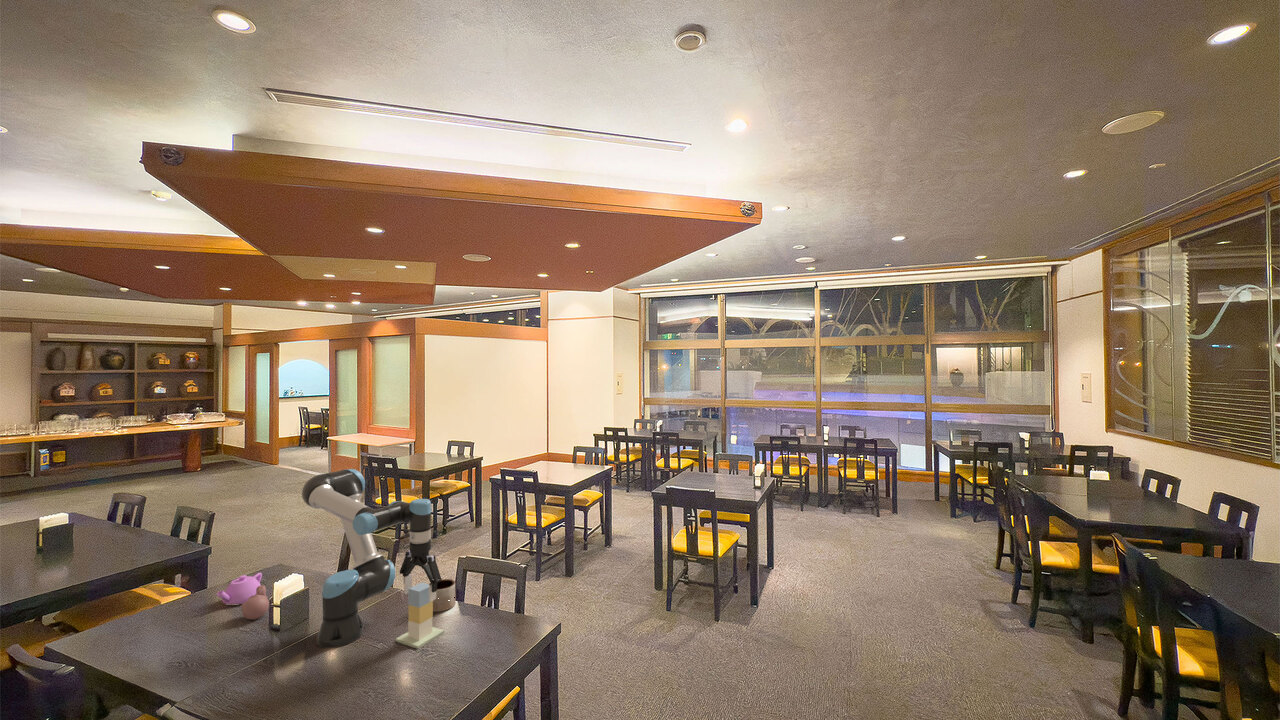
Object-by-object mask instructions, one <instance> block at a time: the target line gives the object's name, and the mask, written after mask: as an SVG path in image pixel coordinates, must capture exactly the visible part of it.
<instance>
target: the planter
mask: <svg viewBox="0 0 1280 720" xmlns="http://www.w3.org/2000/svg"><path fill="white" fill-rule="evenodd" d="M454 597H455V598H454ZM438 598H439V599H438ZM448 600H450V601H448ZM455 605H456V581H455V580H454V579H450V578H444V579H442V580H441V581H440V582H438V583H437V591H436V599H435V600H433V613H441V612H446V611H449V610H450V609H452V608H454V607H455Z"/></svg>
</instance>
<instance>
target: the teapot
mask: <svg viewBox="0 0 1280 720" xmlns="http://www.w3.org/2000/svg"><path fill="white" fill-rule="evenodd" d="M262 577H263V573H262V572H257V573H256V574H254V575H253V576H250V575H249V576H247V575H246V574H243V575H240V576H239V577H237V578H235V579H233V580H232V581H231V582H230V583H229V584H228V585H227V587H226V589H225V590H220V591H218V592H217V593H216V596H217V597H219V598H220V599H221V600H222V601H221V602H222V603H223V604H224V603H225V604H224V605H226V604H243V603H245V602H246V601H247V600H248V598H249V597H251V596H255V594H256V589H257V587H258V586H262V585H261V580H262Z"/></svg>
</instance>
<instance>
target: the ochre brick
mask: <svg viewBox="0 0 1280 720" xmlns="http://www.w3.org/2000/svg"><path fill="white" fill-rule="evenodd" d="M433 613H434V612H433V601H432V602H430V603H428V604H426V605H424V606H422V607H420V608H418V607H415V606H411V605H408V620H409V621H411V622H415V623H418V624H421V623H422V622H424V621H426V620H428V619H430V618H431V617H432V618H434V615H433Z"/></svg>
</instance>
